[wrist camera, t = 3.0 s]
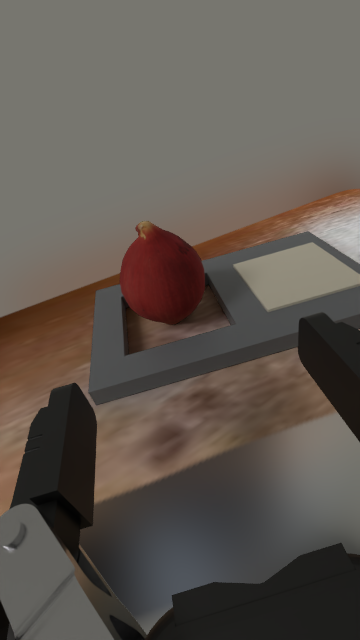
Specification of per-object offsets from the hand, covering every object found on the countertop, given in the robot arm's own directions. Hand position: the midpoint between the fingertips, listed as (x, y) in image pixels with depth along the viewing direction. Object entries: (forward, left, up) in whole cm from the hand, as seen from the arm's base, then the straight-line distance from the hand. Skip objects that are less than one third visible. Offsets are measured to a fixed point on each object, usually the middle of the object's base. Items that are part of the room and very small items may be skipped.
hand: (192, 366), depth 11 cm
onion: (0, +11, -6) cm, 13 cm away
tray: (+4, +11, -6) cm, 13 cm away
